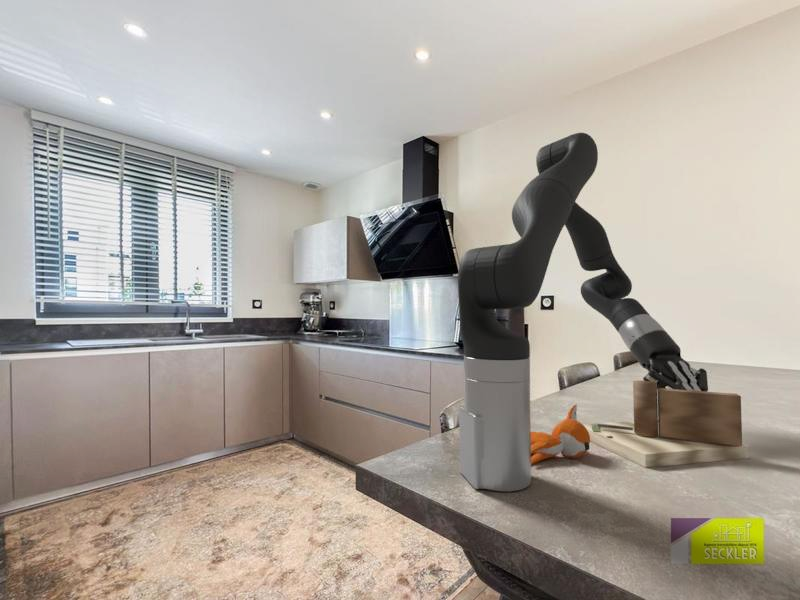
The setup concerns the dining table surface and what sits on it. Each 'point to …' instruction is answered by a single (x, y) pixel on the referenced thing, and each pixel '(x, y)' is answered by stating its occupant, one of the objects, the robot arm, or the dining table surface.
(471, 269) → the robot arm
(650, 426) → the brown piece
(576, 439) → the toy
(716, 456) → the light wood flat board
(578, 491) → the dining table surface
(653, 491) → the dining table surface
